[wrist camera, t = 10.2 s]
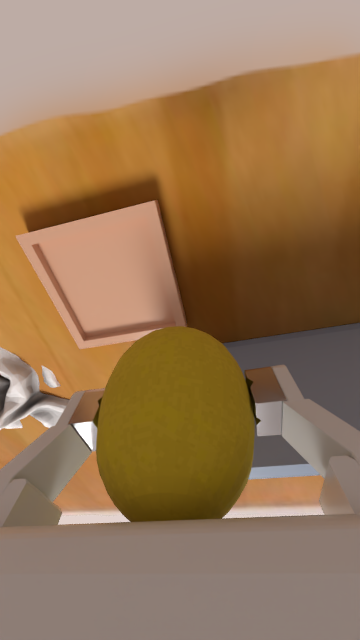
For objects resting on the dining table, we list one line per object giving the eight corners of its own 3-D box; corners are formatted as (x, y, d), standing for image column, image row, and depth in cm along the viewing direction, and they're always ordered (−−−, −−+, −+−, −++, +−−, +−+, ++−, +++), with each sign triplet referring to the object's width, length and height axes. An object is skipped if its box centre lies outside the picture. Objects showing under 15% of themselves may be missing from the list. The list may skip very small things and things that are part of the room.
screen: (363, 322, 24) (530, 448, 12) (355, 356, 27) (488, 489, 15) (158, 353, 28) (134, 475, 16) (168, 380, 30) (153, 504, 18)
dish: (157, 199, 19) (154, 200, 18) (187, 323, 25) (186, 331, 24) (28, 232, 21) (15, 236, 19) (86, 340, 27) (79, 349, 26)
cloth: (102, 426, 37) (88, 464, 32) (7, 433, 40) (-21, 470, 34) (37, 314, 26) (-1, 345, 21) (-89, 333, 29) (-152, 365, 23)
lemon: (119, 298, 11) (-7, 503, 4) (235, 293, 10) (329, 508, 3) (138, 379, 13) (87, 578, 7) (229, 377, 13) (274, 585, 6)
